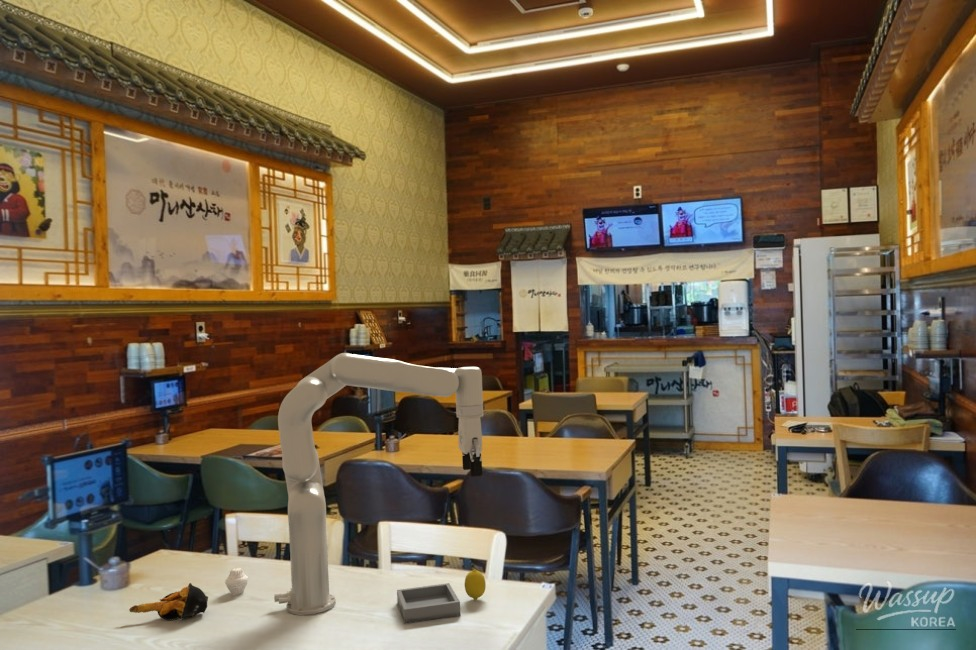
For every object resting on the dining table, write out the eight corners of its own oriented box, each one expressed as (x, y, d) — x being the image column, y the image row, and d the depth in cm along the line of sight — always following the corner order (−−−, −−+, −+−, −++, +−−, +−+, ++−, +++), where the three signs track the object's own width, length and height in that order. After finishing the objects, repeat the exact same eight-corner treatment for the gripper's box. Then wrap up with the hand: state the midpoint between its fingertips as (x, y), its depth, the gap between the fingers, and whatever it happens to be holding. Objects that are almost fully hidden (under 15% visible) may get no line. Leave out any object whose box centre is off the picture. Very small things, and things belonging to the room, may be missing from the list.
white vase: (252, 591, 207) (251, 567, 207) (232, 598, 202) (231, 573, 202) (241, 587, 211) (240, 562, 211) (221, 593, 206) (220, 568, 206)
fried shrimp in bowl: (210, 603, 187) (135, 592, 181) (198, 636, 190) (124, 627, 184) (214, 578, 195) (142, 567, 189) (202, 611, 198) (131, 601, 192)
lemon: (483, 604, 190) (482, 573, 190) (463, 603, 191) (461, 572, 191) (488, 596, 196) (486, 566, 196) (467, 595, 197) (466, 565, 197)
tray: (404, 623, 180) (404, 609, 180) (397, 603, 194) (396, 589, 194) (460, 615, 183) (460, 601, 183) (449, 596, 197) (449, 583, 197)
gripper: (450, 409, 212) (453, 468, 212) (463, 415, 196) (465, 480, 196) (475, 407, 214) (478, 465, 214) (490, 413, 197) (493, 477, 197)
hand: (472, 472), depth 205 cm, fingers open, 9 cm apart
